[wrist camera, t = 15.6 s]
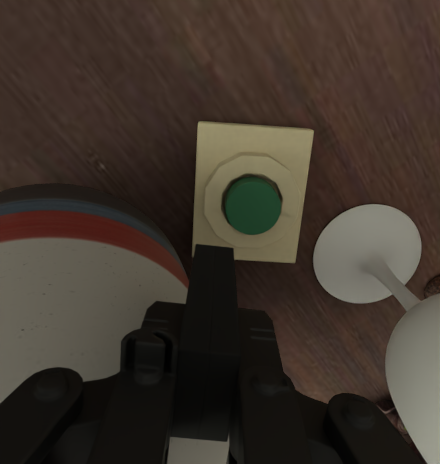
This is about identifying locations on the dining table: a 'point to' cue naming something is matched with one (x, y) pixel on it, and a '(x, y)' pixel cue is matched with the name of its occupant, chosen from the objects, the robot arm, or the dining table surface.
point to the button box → (250, 165)
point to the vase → (82, 288)
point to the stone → (433, 287)
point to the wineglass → (382, 286)
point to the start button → (252, 206)
